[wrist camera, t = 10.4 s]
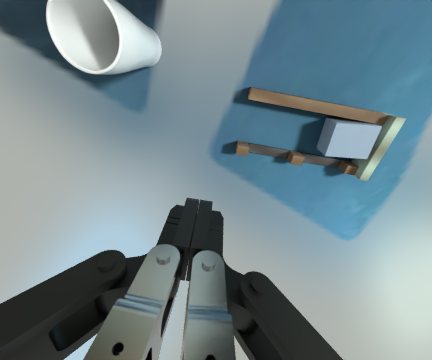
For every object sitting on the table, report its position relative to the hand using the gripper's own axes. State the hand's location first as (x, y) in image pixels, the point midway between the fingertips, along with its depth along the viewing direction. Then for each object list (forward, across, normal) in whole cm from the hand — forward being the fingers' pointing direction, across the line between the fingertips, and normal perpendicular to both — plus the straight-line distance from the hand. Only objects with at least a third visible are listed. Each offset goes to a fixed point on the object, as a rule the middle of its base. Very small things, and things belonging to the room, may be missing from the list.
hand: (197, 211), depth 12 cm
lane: (+27, -15, 0) cm, 31 cm away
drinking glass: (+27, +12, -8) cm, 31 cm away
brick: (+27, -22, 0) cm, 35 cm away
